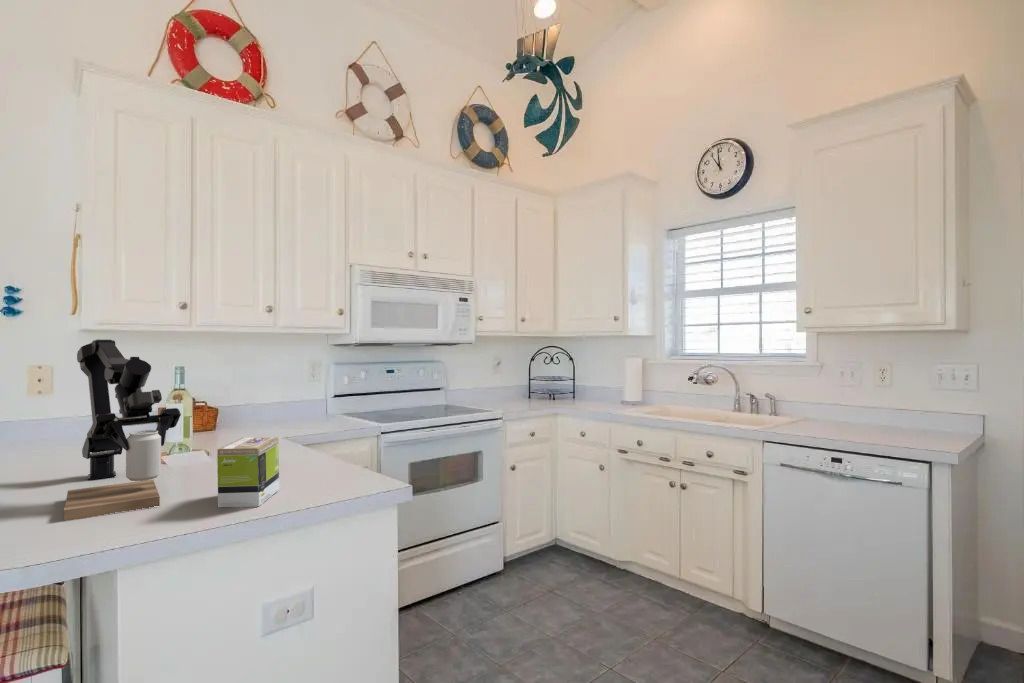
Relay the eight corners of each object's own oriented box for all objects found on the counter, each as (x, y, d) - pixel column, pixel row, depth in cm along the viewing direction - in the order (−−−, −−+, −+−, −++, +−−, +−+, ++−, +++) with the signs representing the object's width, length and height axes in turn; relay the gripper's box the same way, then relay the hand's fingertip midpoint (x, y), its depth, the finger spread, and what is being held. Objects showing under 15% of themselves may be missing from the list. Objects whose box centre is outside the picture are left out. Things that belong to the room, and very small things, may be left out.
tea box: (241, 491, 146) (242, 436, 146) (280, 490, 147) (280, 436, 147) (216, 508, 131) (216, 447, 131) (259, 507, 132) (259, 446, 132)
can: (135, 483, 134) (136, 435, 134) (119, 479, 138) (119, 432, 138) (167, 476, 141) (167, 430, 141) (150, 473, 145) (151, 428, 144)
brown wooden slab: (68, 502, 138) (68, 490, 138) (153, 490, 148) (153, 479, 148) (63, 523, 122) (64, 510, 122) (159, 508, 132) (159, 496, 132)
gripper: (95, 382, 134) (108, 432, 128) (178, 378, 149) (194, 423, 142) (85, 410, 139) (98, 460, 133) (167, 404, 154) (182, 448, 147)
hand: (145, 447), depth 139 cm, fingers closed on can, 7 cm apart
